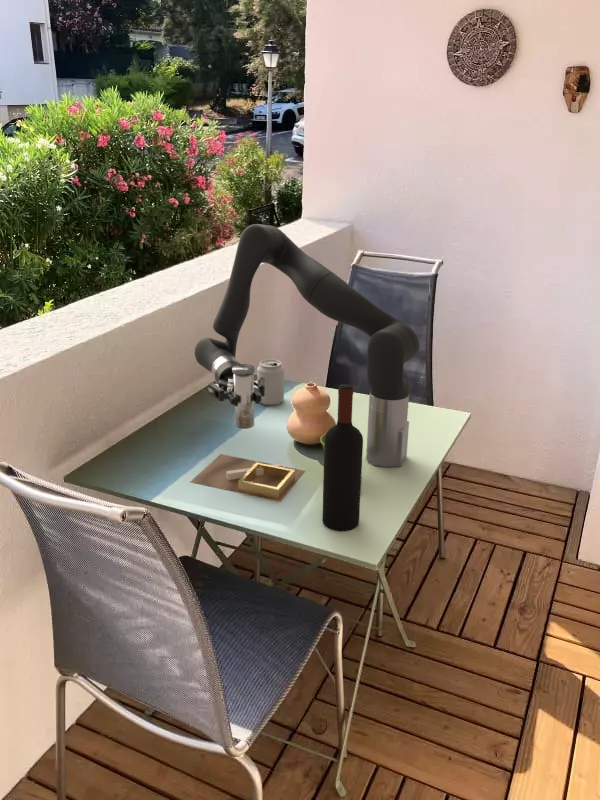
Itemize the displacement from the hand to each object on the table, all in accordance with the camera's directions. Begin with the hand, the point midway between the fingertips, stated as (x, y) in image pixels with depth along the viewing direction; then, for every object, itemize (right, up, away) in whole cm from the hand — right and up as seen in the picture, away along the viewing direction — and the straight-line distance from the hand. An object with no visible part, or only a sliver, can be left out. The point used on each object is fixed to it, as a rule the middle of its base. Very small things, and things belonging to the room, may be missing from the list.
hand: (247, 400), depth 160 cm
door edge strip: (+1, -18, +6) cm, 19 cm away
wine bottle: (+20, -25, -10) cm, 34 cm away
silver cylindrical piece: (-1, -5, +5) cm, 8 cm away
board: (0, -18, +5) cm, 19 cm away
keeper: (+4, -20, +2) cm, 20 cm away
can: (+3, 0, +48) cm, 48 cm away
